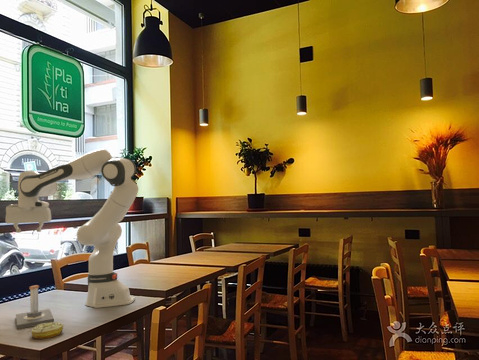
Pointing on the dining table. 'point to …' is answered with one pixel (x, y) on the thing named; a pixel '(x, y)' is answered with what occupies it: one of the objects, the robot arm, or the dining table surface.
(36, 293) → the grey stamp
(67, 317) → the dining table surface
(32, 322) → the slate board
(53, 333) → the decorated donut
